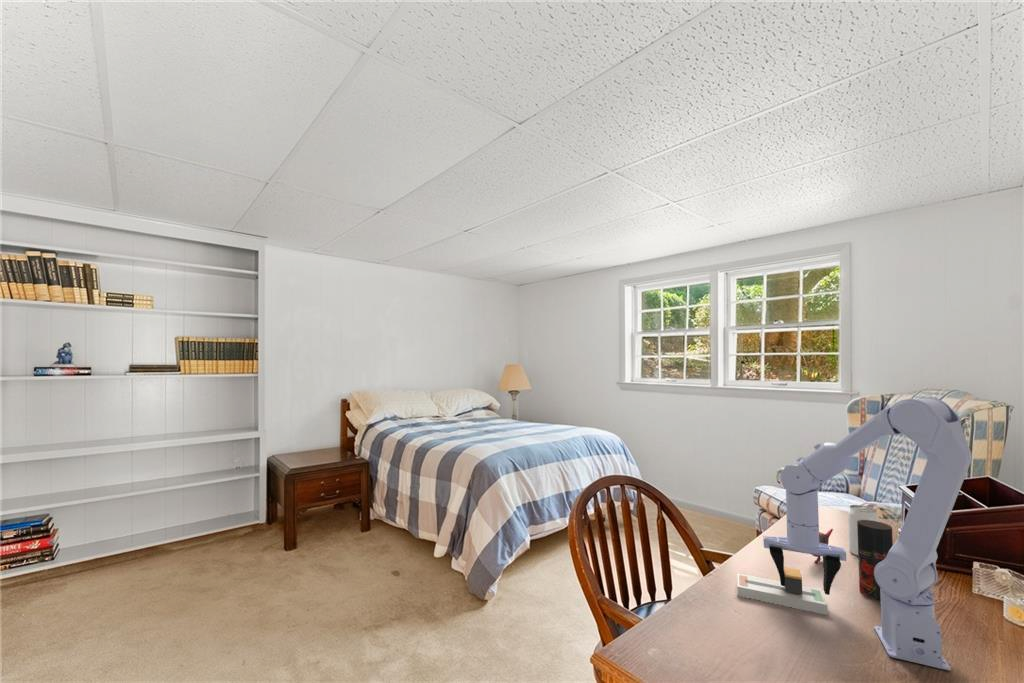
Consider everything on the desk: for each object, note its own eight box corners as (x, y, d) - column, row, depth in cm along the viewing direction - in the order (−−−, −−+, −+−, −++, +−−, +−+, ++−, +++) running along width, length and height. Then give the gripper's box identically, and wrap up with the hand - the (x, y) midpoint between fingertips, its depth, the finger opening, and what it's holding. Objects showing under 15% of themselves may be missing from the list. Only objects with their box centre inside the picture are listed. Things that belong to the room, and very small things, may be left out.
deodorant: (901, 603, 94) (898, 530, 95) (869, 600, 95) (866, 528, 96) (884, 589, 100) (881, 521, 100) (853, 587, 101) (851, 519, 101)
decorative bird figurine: (800, 568, 110) (799, 526, 110) (826, 550, 121) (825, 512, 121) (813, 572, 108) (812, 530, 108) (839, 554, 118) (838, 515, 119)
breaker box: (827, 615, 89) (827, 604, 89) (737, 596, 96) (737, 586, 96) (821, 598, 95) (821, 588, 96) (737, 582, 103) (737, 572, 103)
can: (878, 553, 119) (876, 507, 120) (882, 562, 114) (880, 513, 114) (848, 547, 123) (846, 503, 123) (850, 556, 117) (848, 509, 118)
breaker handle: (802, 594, 92) (801, 577, 93) (785, 591, 94) (784, 574, 94) (799, 586, 96) (799, 569, 96) (783, 582, 97) (783, 566, 98)
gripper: (840, 521, 95) (842, 587, 94) (762, 511, 102) (763, 572, 101) (847, 532, 89) (850, 603, 88) (763, 521, 95) (765, 586, 94)
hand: (804, 588), depth 94 cm, fingers open, 7 cm apart
